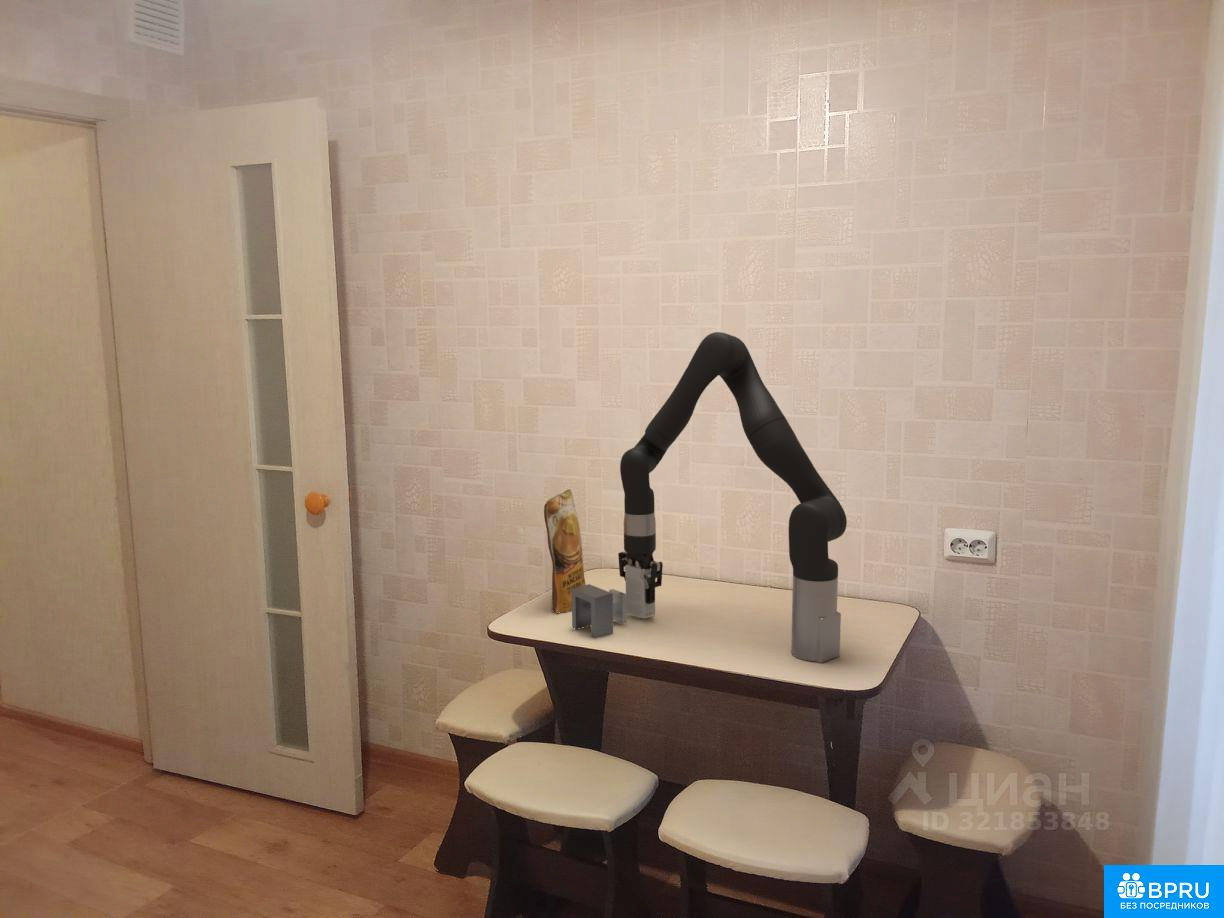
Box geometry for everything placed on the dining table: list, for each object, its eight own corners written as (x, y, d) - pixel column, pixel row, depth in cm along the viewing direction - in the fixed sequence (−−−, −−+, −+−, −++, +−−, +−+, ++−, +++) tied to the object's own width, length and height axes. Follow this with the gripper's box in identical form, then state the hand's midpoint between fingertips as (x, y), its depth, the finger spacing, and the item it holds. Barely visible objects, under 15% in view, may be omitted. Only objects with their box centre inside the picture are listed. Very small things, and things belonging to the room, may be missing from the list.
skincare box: (656, 614, 218) (655, 565, 216) (644, 619, 215) (643, 569, 213) (636, 609, 222) (636, 561, 220) (625, 613, 219) (624, 565, 217)
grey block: (627, 622, 213) (627, 593, 212) (607, 628, 210) (606, 599, 209) (602, 612, 221) (601, 584, 220) (582, 617, 217) (581, 589, 216)
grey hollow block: (634, 627, 212) (634, 587, 211) (595, 638, 205) (594, 597, 204) (603, 614, 222) (603, 576, 220) (564, 624, 215) (564, 585, 213)
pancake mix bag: (537, 614, 222) (534, 501, 218) (572, 591, 239) (569, 486, 235) (562, 617, 219) (559, 503, 215) (595, 594, 237) (593, 488, 232)
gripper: (672, 534, 212) (672, 603, 215) (633, 523, 223) (633, 589, 226) (646, 539, 207) (647, 610, 210) (608, 527, 219) (609, 595, 221)
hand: (640, 599), depth 218 cm, fingers closed on skincare box, 6 cm apart
